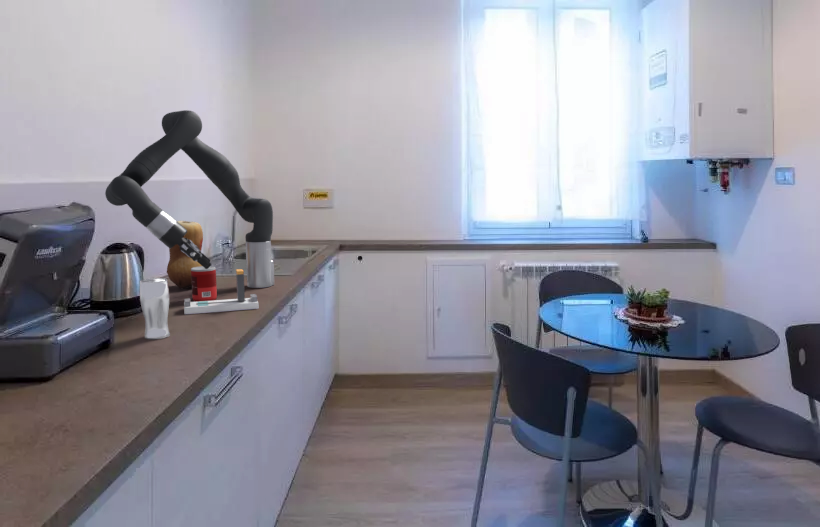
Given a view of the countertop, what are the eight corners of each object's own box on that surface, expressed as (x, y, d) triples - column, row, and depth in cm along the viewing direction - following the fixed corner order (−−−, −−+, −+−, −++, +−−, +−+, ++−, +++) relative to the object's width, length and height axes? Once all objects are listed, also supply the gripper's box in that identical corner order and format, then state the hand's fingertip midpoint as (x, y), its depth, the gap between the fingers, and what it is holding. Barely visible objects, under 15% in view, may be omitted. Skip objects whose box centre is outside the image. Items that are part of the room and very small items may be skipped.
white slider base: (184, 314, 175) (183, 303, 175) (184, 308, 183) (183, 297, 182) (258, 308, 183) (258, 297, 183) (255, 303, 191) (255, 293, 190)
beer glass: (161, 331, 156) (158, 276, 154) (177, 335, 152) (173, 279, 150) (137, 337, 150) (133, 280, 148) (152, 341, 147) (148, 283, 144)
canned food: (221, 298, 198) (220, 266, 197) (206, 303, 191) (204, 270, 189) (203, 296, 201) (201, 265, 199) (187, 301, 193) (185, 269, 192)
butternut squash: (205, 289, 213) (202, 222, 209) (166, 291, 209) (162, 222, 205) (206, 283, 226) (203, 219, 222) (169, 284, 222) (165, 220, 218)
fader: (238, 301, 183) (237, 271, 181) (237, 299, 186) (236, 269, 185) (244, 301, 183) (243, 271, 182) (243, 298, 187) (242, 269, 186)
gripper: (175, 222, 168) (218, 259, 174) (176, 218, 181) (216, 253, 187) (156, 241, 167) (200, 277, 173) (158, 236, 180) (199, 270, 186)
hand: (208, 264), depth 180 cm, fingers open, 8 cm apart
